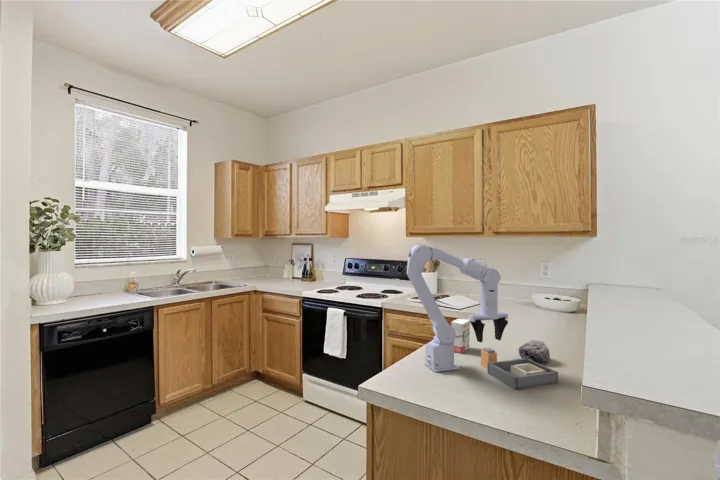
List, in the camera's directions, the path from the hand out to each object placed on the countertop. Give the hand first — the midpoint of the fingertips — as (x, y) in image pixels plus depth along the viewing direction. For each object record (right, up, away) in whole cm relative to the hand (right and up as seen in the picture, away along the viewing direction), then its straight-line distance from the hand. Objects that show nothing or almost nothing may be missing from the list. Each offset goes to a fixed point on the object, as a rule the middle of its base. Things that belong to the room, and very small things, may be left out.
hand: (488, 340), depth 119 cm
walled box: (+7, -9, -9) cm, 15 cm away
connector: (0, -9, 0) cm, 9 cm away
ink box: (-5, -10, +18) cm, 21 cm away
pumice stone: (+19, -10, +7) cm, 22 cm away
